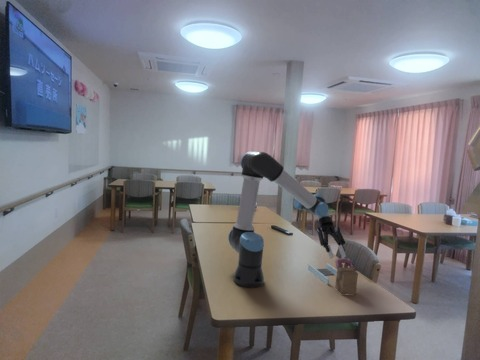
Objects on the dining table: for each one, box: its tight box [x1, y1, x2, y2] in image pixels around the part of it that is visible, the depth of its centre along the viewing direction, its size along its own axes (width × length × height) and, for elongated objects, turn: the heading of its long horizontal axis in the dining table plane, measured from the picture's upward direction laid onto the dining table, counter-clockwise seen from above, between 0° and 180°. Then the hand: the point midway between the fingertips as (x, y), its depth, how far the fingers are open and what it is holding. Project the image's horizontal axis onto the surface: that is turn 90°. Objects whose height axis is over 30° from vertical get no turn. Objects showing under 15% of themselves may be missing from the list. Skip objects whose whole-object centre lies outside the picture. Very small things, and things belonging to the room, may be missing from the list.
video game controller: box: [334, 257, 354, 270], centre depth 181 cm, size 10×5×7 cm, turn 92°
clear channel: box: [307, 262, 337, 285], centre depth 167 cm, size 20×13×3 cm, turn 17°
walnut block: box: [334, 266, 359, 295], centre depth 149 cm, size 7×7×11 cm
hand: (338, 257), depth 159 cm, fingers open, 7 cm apart
